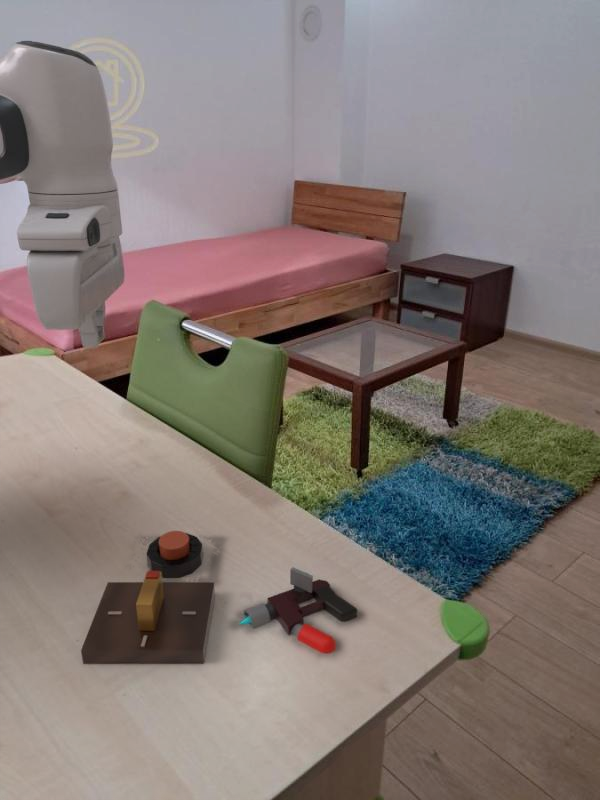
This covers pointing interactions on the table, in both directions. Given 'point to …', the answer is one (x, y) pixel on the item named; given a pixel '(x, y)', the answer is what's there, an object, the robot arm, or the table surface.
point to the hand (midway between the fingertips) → (94, 343)
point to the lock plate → (174, 634)
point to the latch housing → (175, 566)
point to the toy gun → (302, 610)
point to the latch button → (174, 545)
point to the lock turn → (150, 601)
